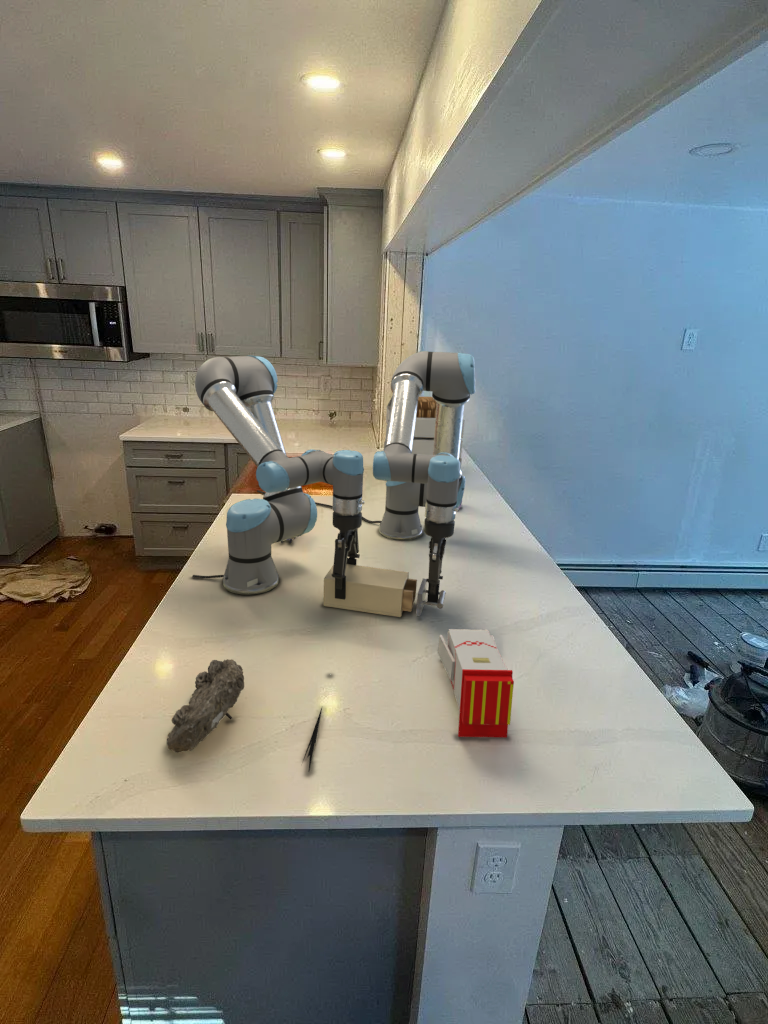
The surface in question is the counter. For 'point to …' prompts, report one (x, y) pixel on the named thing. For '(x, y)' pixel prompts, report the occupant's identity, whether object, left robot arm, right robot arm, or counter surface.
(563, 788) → the counter surface
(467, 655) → the toy
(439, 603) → the drawer
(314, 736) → the feather
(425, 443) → the transformer
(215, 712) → the fossil
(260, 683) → the counter surface
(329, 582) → the cabinet
